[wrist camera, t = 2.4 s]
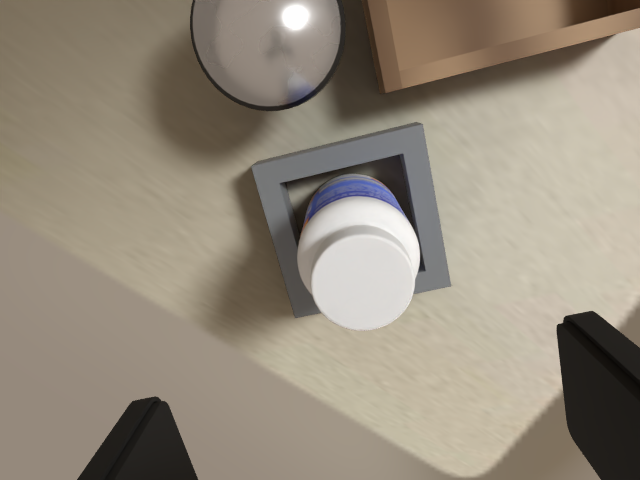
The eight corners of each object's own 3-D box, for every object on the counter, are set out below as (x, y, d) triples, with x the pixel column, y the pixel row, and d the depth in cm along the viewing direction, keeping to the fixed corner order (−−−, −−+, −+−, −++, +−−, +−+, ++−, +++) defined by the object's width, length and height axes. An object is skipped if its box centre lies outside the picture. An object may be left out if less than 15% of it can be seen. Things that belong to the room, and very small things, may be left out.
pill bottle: (293, 189, 26) (267, 240, 16) (384, 159, 25) (410, 194, 16) (324, 273, 27) (315, 363, 18) (410, 247, 26) (448, 327, 17)
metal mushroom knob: (328, -41, 22) (324, -85, 17) (356, 91, 24) (360, 89, 19) (206, -5, 23) (165, -36, 18) (242, 121, 25) (215, 127, 19)
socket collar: (416, 122, 24) (422, 124, 22) (443, 273, 27) (451, 286, 25) (257, 161, 25) (251, 166, 23) (298, 303, 28) (295, 318, 26)
